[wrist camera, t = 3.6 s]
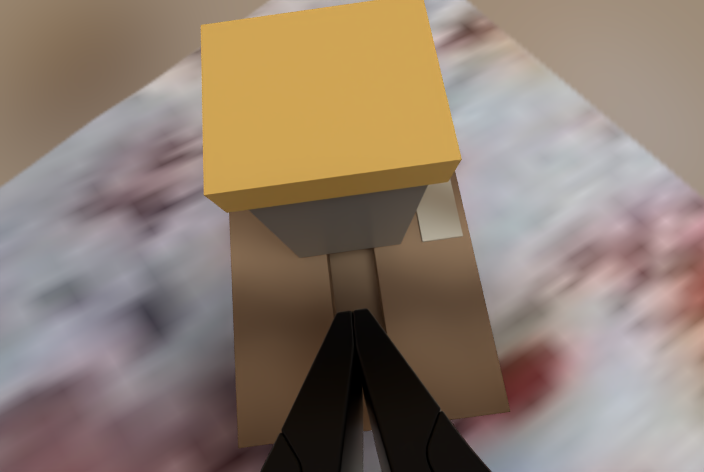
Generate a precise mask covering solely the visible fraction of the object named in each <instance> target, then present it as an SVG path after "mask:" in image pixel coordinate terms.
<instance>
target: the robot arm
mask: <svg viewBox="0 0 704 472" xmlns="http://www.w3.org/2000/svg"><path fill="white" fill-rule="evenodd" d="M362 388H363V389H362ZM363 393H364V399H365V403H366V408H367V412H368V416H369V420H370V425H371V429H372V433H373V437H374V441H375V446H376V450H377V454H378V458H379V462H380V467H381V471H382V472H491V470H490V469H489V468H488V467H487V466H486V465H485V464H484V462H483V461H482V460H481V459H480V458H479V457H478V455H477V454H476V453H475V452H474V451H473V450H472V448H471V447H470V446H469V445H468V443H467V442H466V441H465V439H464V438H463V437H462V436H461V434H460V433H459V432H458V430H457V429H456V428H455V427H454V425H453V424H452V422H451V421H450V420H449V418H448V417H447V416H446V414H445V413H444V412H443V411H441V408H440V406H439V405H438V404H437V402H436V401H435V399H434V398H433V397H432V395H431V394H430V393H429V391H428V390H427V388H426V387H425V386H424V384H423V383H422V382H421V380H420V379H419V377H418V376H417V375H416V373H415V372H414V371H413V369H412V368H411V367H410V365H409V364H408V362H407V361H406V360H405V358H404V357H403V356H402V354H401V353H400V351H399V350H398V349H397V347H396V346H395V345H394V343H393V342H392V340H391V339H390V338H389V336H388V335H387V334H386V332H385V331H384V329H383V328H382V327H381V325H380V324H379V323H378V321H377V320H376V319H375V317H374V316H373V314H372V313H371V312H370V310H369V309H367V308H365V309H357V310H354V311H353V313H352V311H343V312H338V313H336V315H335V317H334V319H333V321H332V323H331V325H330V328H329V330H328V332H327V334H326V336H325V338H324V340H323V342H322V344H321V346H320V349H319V351H318V353H317V355H316V357H315V359H314V361H313V363H312V365H311V368H310V370H309V372H308V374H307V376H306V378H305V380H304V382H303V384H302V386H301V389H300V391H299V393H298V395H297V397H296V399H295V401H294V403H293V405H292V408H291V410H290V412H289V414H288V416H287V418H286V420H285V422H284V424H283V427H282V429H281V432H282V433H279V435H278V437H277V439H276V441H275V443H274V445H273V447H272V449H271V451H270V453H269V455H268V457H267V459H266V461H265V463H264V465H263V467H262V469H261V471H260V472H363Z"/></svg>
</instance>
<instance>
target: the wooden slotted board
mask: <svg viewBox="0 0 704 472" xmlns="http://www.w3.org/2000/svg"><path fill="white" fill-rule="evenodd" d="M229 219H230V245H231V271H232V297H233V323H234V349H235V375H236V401H237V427H238V448H243V447H251V446H258V445H266V444H273V443H275V441H276V439H277V437H278V435H279V433H282V432H281V429H282V427H283V424H284V422H285V420H286V418H287V416H288V414H289V412H290V410H291V408H292V405H293V403H294V401H295V399H296V397H297V395H298V393H299V391H300V389H301V386H302V384H303V382H304V380H305V378H306V376H307V374H308V372H309V370H310V368H311V365H312V363H313V361H314V359H315V357H316V355H317V353H318V351H319V349H320V346H321V344H322V342H323V340H324V338H325V336H326V334H327V332H328V330H329V328H330V325H331V323H332V321H333V319H334V317H335V315H336V313H338V312H343V311H352V313H353V311H354V310H357V309H365V308H367V309H369V310H370V312H371V313H372V314H373V316H374V317H375V319H376V320H377V321H378V323H379V324H380V325H381V327H382V328H383V329H384V331H385V332H386V334H387V335H388V336H389V338H390V339H391V340H392V342H393V343H394V345H395V346H396V347H397V349H398V350H399V351H400V353H401V354H402V356H403V357H404V358H405V360H406V361H407V362H408V364H409V365H410V367H411V368H412V369H413V371H414V372H415V373H416V375H417V376H418V377H419V379H420V380H421V382H422V383H423V384H424V386H425V387H426V388H427V390H428V391H429V393H430V394H431V395H432V397H433V398H434V399H435V401H436V402H437V404H438V405H439V406H440V408H441V411H443V412H444V413H445V414H446V416H447V417H448V418H449V420H452V419H460V418H467V417H475V416H482V415H490V414H497V413H505V412H510V408H509V403H508V399H507V395H506V390H505V386H504V382H503V377H502V373H501V369H500V364H499V360H498V356H497V351H496V347H495V343H494V338H493V334H492V330H491V325H490V321H489V317H488V312H487V308H486V304H485V299H484V295H483V291H482V286H481V282H480V278H479V273H478V269H477V265H476V260H475V256H474V252H473V247H472V243H471V238H470V234H469V230H468V225H467V221H466V217H465V212H464V208H463V204H462V199H461V195H460V191H459V186H458V182H457V178H456V173H455V171H454V173H453V175H452V176H451V178H450V180H449V181H448V182H445V183H438V184H431V185H428V186H427V188H426V191H425V193H424V195H423V197H422V199H421V201H420V204H419V206H418V208H417V210H416V212H415V214H414V216H413V219H412V221H411V223H410V225H409V227H408V229H407V232H406V234H405V236H404V238H403V240H402V242H401V244H397V245H390V246H382V247H375V248H368V249H361V250H353V251H346V252H339V253H331V254H324V255H317V256H310V257H302V258H299V257H298V256H297V255H296V254H295V253H294V252H293V251H292V250H291V249H290V248H289V247H287V246H286V245H285V244H284V243H283V242H282V241H281V240H280V239H279V238H278V237H277V236H276V235H275V234H274V233H273V232H272V231H270V230H269V229H268V228H267V227H266V226H265V225H264V224H263V223H262V222H261V221H260V220H259V219H258V218H257V217H256V216H255V215H253V214H252V213H251V212H250V211H249V210H243V211H235V212H229ZM362 389H363V388H362ZM370 430H372V429H371V425H370V420H369V416H368V412H367V408H366V403H365V399H364V393H363V431H370Z"/></svg>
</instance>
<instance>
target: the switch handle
mask: <svg viewBox="0 0 704 472" xmlns="http://www.w3.org/2000/svg"><path fill="white" fill-rule="evenodd" d="M201 61H202V117H203V173H204V196H206V197H207V198H208V199H210V200H211V201H212V202H214V203H215V204H216V205H217V206H219V207H220V208H221V209H223V210H224V211H225V212H226V213H228V212H235V211H243V210H249V211H250V212H251V213H252V214H253V215H255V216H256V217H257V218H258V219H259V220H260V221H261V222H262V223H263V224H264V225H265V226H266V227H267V228H268V229H269V230H270V231H272V232H273V233H274V234H275V235H276V236H277V237H278V238H279V239H280V240H281V241H282V242H283V243H284V244H285V245H286V246H287V247H289V248H290V249H291V250H292V251H293V252H294V253H295V254H296V255H297V256H298V257H299V258H302V257H310V256H317V255H324V254H331V253H339V252H346V251H353V250H361V249H368V248H375V247H382V246H390V245H397V244H401V242H402V240H403V238H404V236H405V234H406V232H407V229H408V227H409V225H410V223H411V221H412V219H413V216H414V214H415V212H416V210H417V208H418V206H419V204H420V201H421V199H422V197H423V195H424V193H425V191H426V188H427V186H428V185H431V184H438V183H445V182H448V181H449V180H450V178H451V176H452V175H453V173H454V171H455V170H456V168H457V166H458V165H459V163H460V161H461V160H462V159H461V155H460V150H459V146H458V142H457V138H456V134H455V129H454V125H453V121H452V117H451V113H450V108H449V104H448V100H447V96H446V92H445V88H444V83H443V79H442V75H441V71H440V67H439V62H438V58H437V54H436V50H435V46H434V41H433V37H432V33H431V29H430V25H429V20H428V16H427V12H426V8H425V4H424V0H374V1H367V2H360V3H353V4H346V5H339V6H332V7H325V8H318V9H311V10H304V11H297V12H290V13H282V14H275V15H268V16H261V17H254V18H247V19H240V20H233V21H226V22H219V23H213V24H205V25H201Z"/></svg>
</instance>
